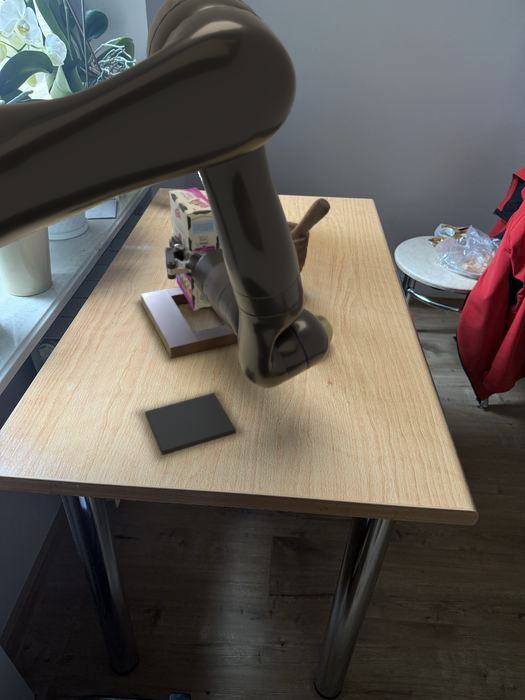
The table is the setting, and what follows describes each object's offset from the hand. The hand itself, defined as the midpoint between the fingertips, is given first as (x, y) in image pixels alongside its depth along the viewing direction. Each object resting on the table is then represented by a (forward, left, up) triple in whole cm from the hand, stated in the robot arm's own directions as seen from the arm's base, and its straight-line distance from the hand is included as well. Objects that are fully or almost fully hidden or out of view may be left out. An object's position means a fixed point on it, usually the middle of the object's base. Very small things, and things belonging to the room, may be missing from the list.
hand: (190, 239), depth 86 cm
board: (0, -3, -14) cm, 14 cm away
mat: (-10, -27, -14) cm, 32 cm away
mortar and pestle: (+18, -2, -14) cm, 23 cm away
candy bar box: (0, -2, -9) cm, 9 cm away
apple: (+14, -18, -14) cm, 27 cm away
